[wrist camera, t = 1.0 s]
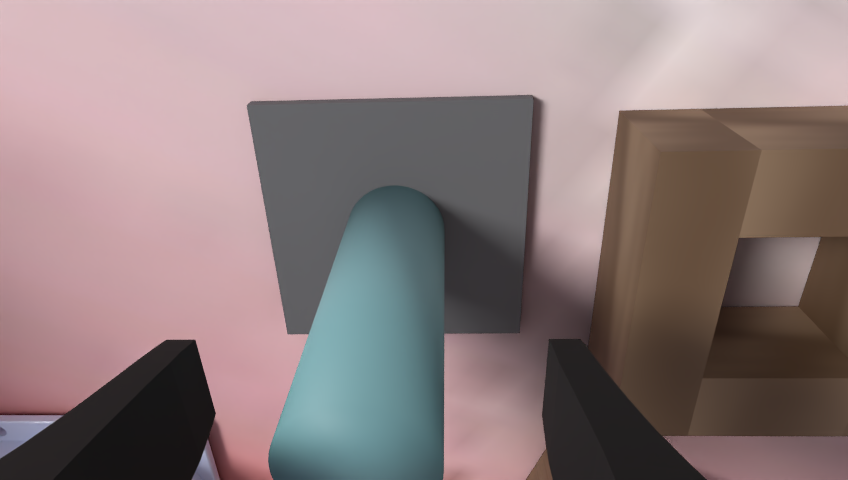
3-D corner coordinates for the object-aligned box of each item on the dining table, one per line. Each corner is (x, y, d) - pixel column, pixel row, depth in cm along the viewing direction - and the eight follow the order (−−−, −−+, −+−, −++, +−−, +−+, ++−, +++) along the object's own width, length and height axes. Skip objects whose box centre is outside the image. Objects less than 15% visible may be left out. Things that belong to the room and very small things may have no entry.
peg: (352, 272, 18) (282, 525, 10) (343, 185, 17) (254, 403, 9) (445, 271, 18) (445, 526, 10) (443, 184, 17) (442, 404, 9)
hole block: (586, 359, 20) (612, 435, 17) (619, 110, 16) (660, 152, 13) (846, 359, 20) (919, 436, 17) (950, 103, 16) (1074, 144, 13)
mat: (290, 327, 20) (287, 334, 20) (251, 101, 16) (246, 105, 16) (518, 326, 20) (519, 333, 19) (531, 94, 16) (533, 98, 16)
